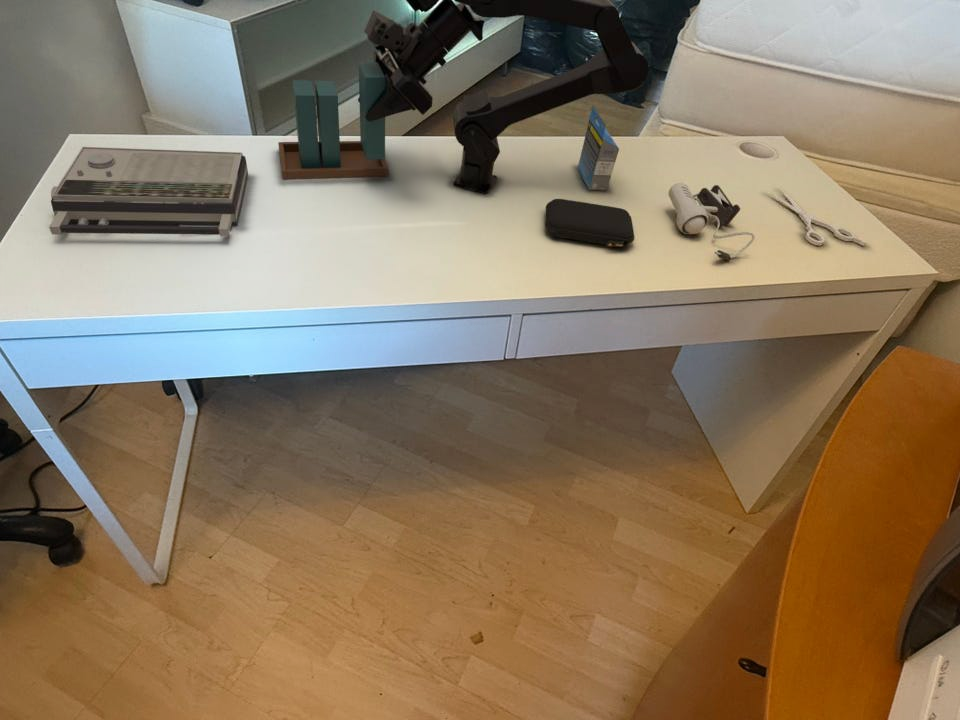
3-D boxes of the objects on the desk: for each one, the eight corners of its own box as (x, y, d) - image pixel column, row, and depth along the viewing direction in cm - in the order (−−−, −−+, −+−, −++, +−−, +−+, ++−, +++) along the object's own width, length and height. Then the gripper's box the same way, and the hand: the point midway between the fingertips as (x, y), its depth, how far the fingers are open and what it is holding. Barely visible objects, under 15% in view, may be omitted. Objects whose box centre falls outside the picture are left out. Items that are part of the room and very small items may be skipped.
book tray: (378, 151, 114) (378, 140, 113) (388, 179, 107) (388, 168, 106) (279, 153, 109) (278, 141, 108) (283, 182, 102) (281, 171, 101)
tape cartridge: (608, 191, 114) (627, 126, 105) (588, 190, 113) (605, 125, 105) (595, 168, 120) (611, 105, 111) (576, 167, 119) (591, 104, 111)
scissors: (821, 247, 107) (751, 188, 119) (819, 251, 107) (750, 192, 120) (867, 242, 110) (794, 185, 123) (864, 246, 110) (792, 189, 123)
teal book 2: (337, 155, 110) (334, 80, 101) (341, 171, 106) (338, 95, 97) (319, 155, 109) (314, 80, 100) (323, 171, 105) (318, 95, 96)
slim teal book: (378, 142, 104) (378, 62, 95) (385, 159, 100) (386, 77, 91) (360, 142, 103) (358, 62, 94) (366, 159, 99) (365, 77, 90)
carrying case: (542, 242, 99) (633, 256, 99) (546, 226, 97) (638, 240, 97) (544, 209, 106) (628, 222, 107) (547, 193, 104) (633, 206, 104)
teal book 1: (317, 155, 109) (312, 80, 100) (320, 171, 105) (315, 95, 96) (299, 155, 108) (292, 80, 99) (302, 172, 104) (295, 95, 95)
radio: (244, 146, 99) (228, 212, 85) (248, 176, 102) (234, 244, 89) (76, 139, 94) (30, 208, 80) (87, 171, 98) (45, 243, 84)
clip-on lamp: (749, 274, 105) (710, 200, 114) (773, 248, 100) (730, 173, 109) (691, 272, 101) (655, 195, 110) (713, 245, 96) (674, 167, 105)
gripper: (385, -26, 93) (316, 50, 97) (414, 14, 81) (333, 99, 85) (433, 32, 101) (366, 100, 105) (465, 76, 88) (388, 151, 93)
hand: (363, 110), depth 97 cm, fingers closed on slim teal book, 6 cm apart
